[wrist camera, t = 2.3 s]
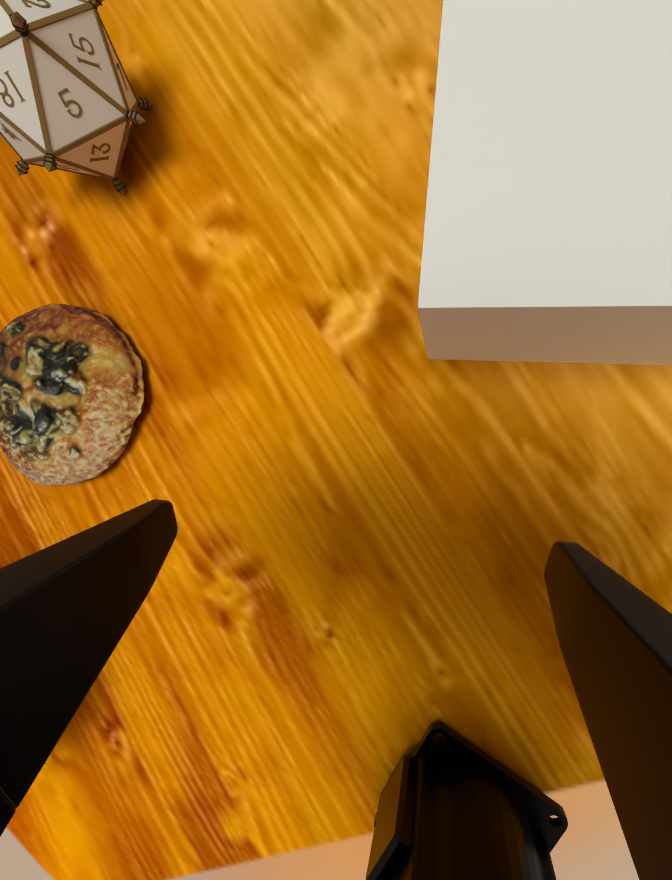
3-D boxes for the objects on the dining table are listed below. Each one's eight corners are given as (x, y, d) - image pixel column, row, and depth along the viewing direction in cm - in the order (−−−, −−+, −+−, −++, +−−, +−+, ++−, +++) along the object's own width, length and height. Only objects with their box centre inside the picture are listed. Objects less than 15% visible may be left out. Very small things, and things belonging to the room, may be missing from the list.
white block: (673, 366, 16) (880, 304, 9) (428, 360, 19) (417, 307, 11) (715, -30, 16) (974, -477, 8) (457, 20, 18) (466, -279, 11)
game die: (151, 212, 27) (-30, 214, 21) (101, 62, 25) (-126, 12, 18) (213, 156, 21) (-20, 134, 15) (154, -54, 18) (-164, -194, 12)
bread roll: (16, 307, 26) (-73, 281, 21) (173, 318, 24) (117, 293, 19) (11, 472, 27) (-75, 486, 22) (162, 492, 25) (106, 511, 20)
